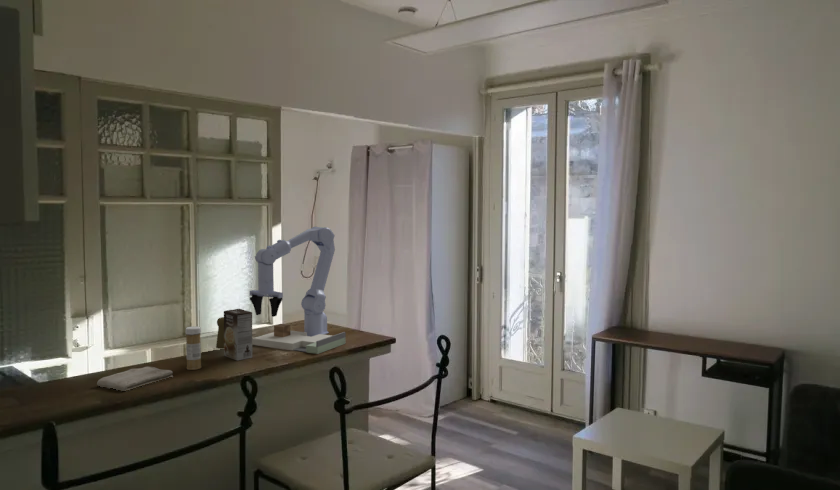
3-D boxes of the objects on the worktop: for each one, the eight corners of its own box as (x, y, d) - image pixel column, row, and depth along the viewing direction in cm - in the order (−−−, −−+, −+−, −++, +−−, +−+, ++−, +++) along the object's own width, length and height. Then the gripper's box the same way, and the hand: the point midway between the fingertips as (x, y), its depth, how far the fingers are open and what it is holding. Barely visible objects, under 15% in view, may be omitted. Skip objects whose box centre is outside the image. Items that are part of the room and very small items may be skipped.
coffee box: (223, 356, 209) (222, 310, 208) (239, 352, 213) (239, 308, 212) (236, 360, 202) (236, 314, 201) (253, 357, 207) (253, 311, 206)
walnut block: (281, 333, 234) (281, 323, 233) (290, 335, 232) (290, 324, 231) (274, 336, 230) (273, 325, 229) (283, 337, 228) (283, 326, 227)
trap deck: (282, 335, 242) (282, 324, 242) (345, 343, 229) (345, 332, 228) (252, 344, 226) (252, 333, 225) (317, 353, 213) (317, 341, 212)
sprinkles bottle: (200, 366, 196) (199, 325, 195) (202, 369, 192) (201, 328, 191) (185, 367, 194) (184, 326, 193) (186, 371, 190) (186, 329, 189)
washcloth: (175, 378, 184) (175, 368, 184) (124, 394, 168) (124, 383, 167) (148, 373, 189) (148, 363, 189) (96, 388, 173) (95, 378, 172)
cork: (235, 345, 225) (235, 316, 224) (229, 348, 219) (228, 319, 218) (220, 344, 226) (219, 315, 225) (213, 348, 220) (212, 318, 219)
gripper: (243, 280, 229) (244, 315, 230) (274, 282, 223) (274, 318, 224) (256, 278, 235) (256, 312, 236) (286, 280, 229) (286, 315, 230)
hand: (266, 315), depth 230 cm, fingers open, 7 cm apart
